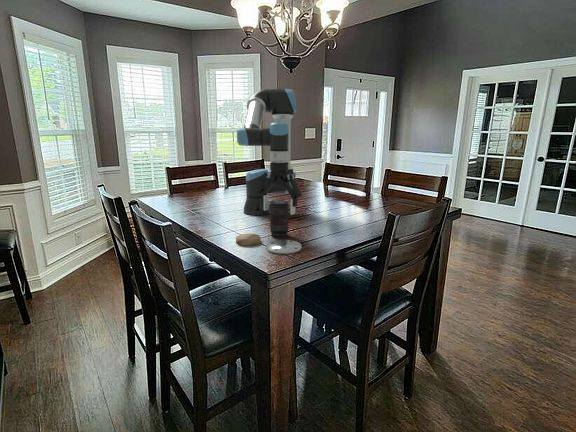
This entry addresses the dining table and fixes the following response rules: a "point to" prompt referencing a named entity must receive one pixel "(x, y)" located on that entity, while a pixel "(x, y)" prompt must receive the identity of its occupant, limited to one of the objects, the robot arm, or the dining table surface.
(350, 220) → the dining table surface
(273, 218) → the camera lens
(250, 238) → the walnut coaster
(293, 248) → the mount flange
